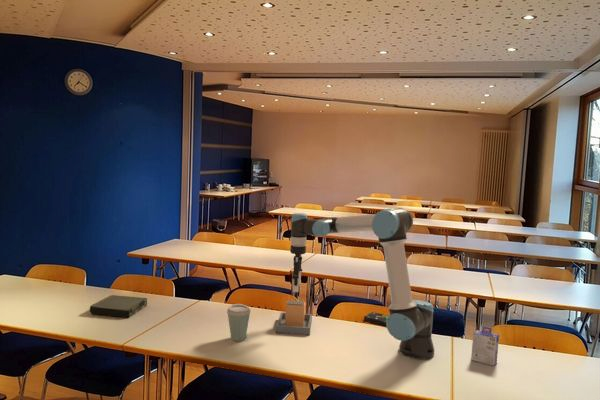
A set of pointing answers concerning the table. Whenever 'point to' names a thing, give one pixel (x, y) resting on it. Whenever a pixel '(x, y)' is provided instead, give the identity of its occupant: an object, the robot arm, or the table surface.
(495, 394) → the table surface
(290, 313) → the toner caddy
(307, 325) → the tray
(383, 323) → the disk drive
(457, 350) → the table surface
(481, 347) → the ink cartridge box
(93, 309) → the network switch
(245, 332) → the disposable coffee cup
